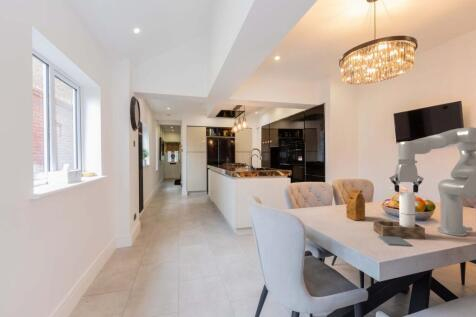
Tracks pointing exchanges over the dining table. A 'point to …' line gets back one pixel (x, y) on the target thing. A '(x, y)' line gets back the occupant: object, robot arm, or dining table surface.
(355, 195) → the coffee package
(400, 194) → the cylindrical container
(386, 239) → the slate coaster
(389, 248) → the dining table surface
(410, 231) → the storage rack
